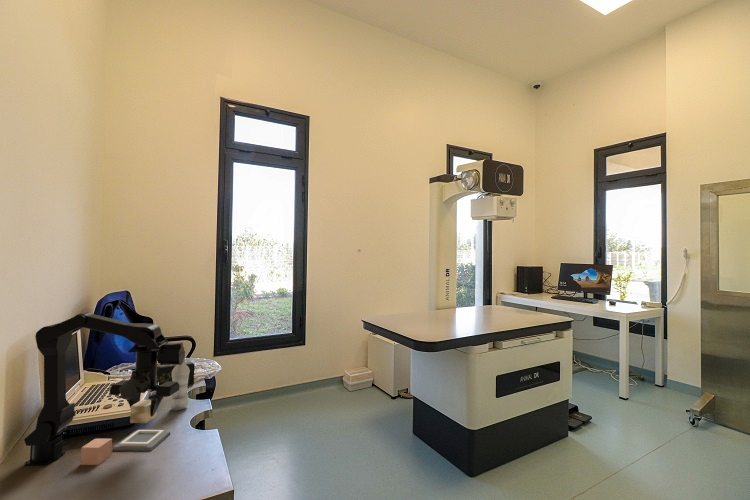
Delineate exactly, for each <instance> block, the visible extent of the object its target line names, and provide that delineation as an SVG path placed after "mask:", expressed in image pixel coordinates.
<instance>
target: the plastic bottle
mask: <svg viewBox="0 0 750 500" xmlns="http://www.w3.org/2000/svg"><path fill="white" fill-rule="evenodd" d="M186 364H187V357H185V358H184V361H183V363H182V364H181V365H176V366H175V367H174V369H173V370H172V382H178V383H179V390H178V391H177V392H175V393H174V394H172V395H171V398H170V403H169V404H170V409H171V410H172V411H181V410H184V409H186V408H187V407H188V405H189V403H190V401H189V393H188V386H189V385H187V384H188V378H189V372H190V370H189V367H188V366H187V365H186Z"/></svg>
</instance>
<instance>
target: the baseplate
mask: <svg viewBox="0 0 750 500" xmlns="http://www.w3.org/2000/svg"><path fill="white" fill-rule="evenodd" d="M170 435H171V431H168V430H167V431H165V430H164V429H137V430H134V431H133V432H131V433H130V434H129V435H127V436H126V437H125V438H123V439H121V440H120V441H119V442H117V444H115V445H114V446H112V451H141V452H142V451H149V452H150V451H153V450H154V449H155V448H157V446H158V445H160V444H161V443H162V442H164V441H165V439H167V438H168V437H169V436H170Z"/></svg>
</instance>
